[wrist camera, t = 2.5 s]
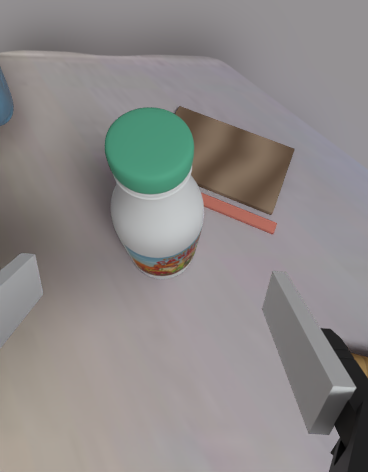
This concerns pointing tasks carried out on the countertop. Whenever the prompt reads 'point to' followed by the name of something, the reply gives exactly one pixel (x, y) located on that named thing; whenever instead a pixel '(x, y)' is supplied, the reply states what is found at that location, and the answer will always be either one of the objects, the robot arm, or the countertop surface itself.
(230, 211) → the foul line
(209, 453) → the countertop surface
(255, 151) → the board
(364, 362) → the kendama
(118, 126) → the milk bottle
